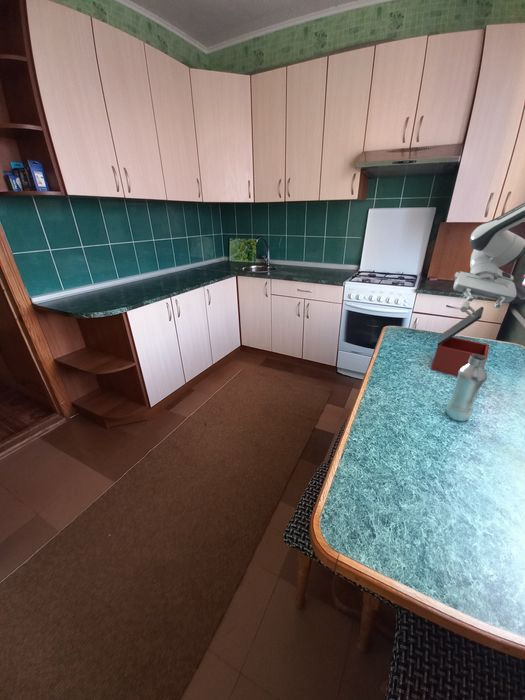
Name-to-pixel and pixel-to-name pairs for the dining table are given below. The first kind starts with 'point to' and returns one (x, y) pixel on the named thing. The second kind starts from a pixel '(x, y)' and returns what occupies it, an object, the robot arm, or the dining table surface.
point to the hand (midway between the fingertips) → (483, 303)
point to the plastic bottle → (467, 388)
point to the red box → (456, 354)
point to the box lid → (462, 322)
